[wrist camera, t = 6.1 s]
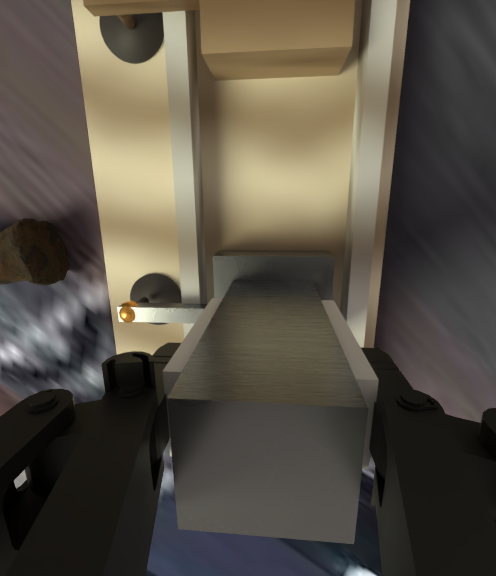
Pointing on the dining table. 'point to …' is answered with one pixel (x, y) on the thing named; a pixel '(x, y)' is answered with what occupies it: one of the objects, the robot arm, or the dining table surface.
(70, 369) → the dining table surface
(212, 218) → the plate
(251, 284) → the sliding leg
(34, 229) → the hand tool
